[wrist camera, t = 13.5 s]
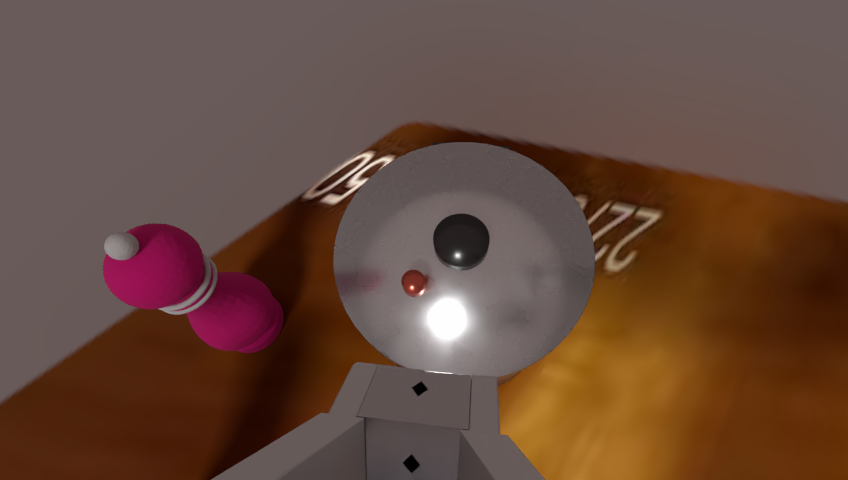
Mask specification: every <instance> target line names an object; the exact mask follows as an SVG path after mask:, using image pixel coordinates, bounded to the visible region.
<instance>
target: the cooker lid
mask: <svg viewBox="0 0 848 480" xmlns="http://www.w3.org/2000/svg"><path fill="white" fill-rule="evenodd" d="M334 273H335V281H336V285H337V288H338V292H339V296H340V298H341V301H342V303H343V305H344V308H345V310H346V312H347V314H348V315H349V317H350V318H351V320H352V322H353V323H354V325H355V326H356V328H357V329H358V330H359V331H360V332H361V334H362V335H363V336H364V337H365V338H366V340H367V341H368V342H369V343H370V344H371V345H372V346H373V347H374V348H375V349H377V350H378V351H379V352H380V353H381V354H382V355H383V356H385V357H386V358H388V359H389V360H391V361H392V362H394V363H395V364H396V365H398V366H400V367H403V368H411V369H419V370H425V371H432V372H443V373H453V374H464V375H471V378H472V375H485V376H496V378H497V379H500V378H504V377H507V376H510V375H512V374H515V373H518V372H520V371H522V370H524V369H526V368H528V367H530V366H531V365H533V364H535V363H537V362H538V361H539V360H541V359H542V358H543V357H545V356H546V355H547V354H549V353H550V352H551V351H552V350H553V349H554V348H556V347H557V346H558V345H559V343H560V342H561V341H562V340H563V339H564V338H565V337H566V336H567V335H568V334H569V333H570V332H571V330H572V329H573V327H574V326H575V325H576V323H577V322H578V320H579V319H580V317H581V315H582V313H583V311H584V309H585V307H586V305H587V302H588V299H589V296H590V293H591V290H592V286H593V280H594V274H595V252H594V244H593V239H592V235H591V231H590V228H589V225H588V222H587V220H586V218H585V215H584V213H583V211H582V209H581V208H580V206H579V204H578V203H577V201H576V199H575V198H574V196H573V195H572V194H571V193H570V191H569V190H568V189H567V188H566V186H565V185H564V184H563V183H562V182H561V181H560V180H559V179H557V178H556V177H555V176H554V175H553V174H552V173H551V172H549V171H548V170H547V169H545V168H544V167H543V166H541V165H540V164H538V163H536V162H535V161H533V160H531V159H530V158H528V157H526V156H523V155H521V154H519V153H517V152H514V151H511V150H508V149H505V148H502V147H499V146H494V145H489V144H483V143H474V142H453V143H443V144H437V145H433V146H428V147H424V148H421V149H418V150H415V151H412V152H410V153H408V154H405V155H403V156H401V157H399V158H397V159H395V160H394V161H392V162H390V163H389V164H387V165H386V166H384V167H383V168H382V169H380V170H379V171H378V172H376V173H375V174H374V175H373V176H372V177H371V178H370V179H369V180H368V181H367V182H365V183H364V185H363V186H362V187H361V188H360V189H359V191H358V192H357V193H356V194H355V196H354V197H353V199H352V200H351V202H350V204H349V205H348V207H347V209H346V211H345V213H344V215H343V217H342V219H341V222H340V225H339V228H338V232H337V235H336V241H335V247H334Z"/></svg>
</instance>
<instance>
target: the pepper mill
mask: <svg viewBox="0 0 848 480" xmlns="http://www.w3.org/2000/svg"><path fill="white" fill-rule="evenodd" d="M104 249H105V251H106V253H107V254H106V257H105V259H104V264H103V274H104V279H105V282H106V284H107V286H108V288H109V289H110V291H111V292H112V293H113V294H114V295H115V296H116V297H117V298H119V299H120V300H121V301H123V302H125V303H126V304H128V305H131V306H134V307H137V308H142V309H159V310H162V311H164V312H166V313H169V314H184V313H186V314H187V316H188V318H189V321H190V323H191V326H192V328H193V330H194V331H195V332H196V334H197V335H198V336H199V337H200V338H201V339H202V340H203V341H204V342H205V343H207V344H209V345H210V346H212V347H214V348H216V349H220V350H228V351H231V350H237V351H239V352H243V353H254V352H258V351H260V350H263V349H265V348H266V347H268V346H269V345H270V344H272V343H273V342H274V340H275V339H276V338H277V337H278V335H279V333H280V332H281V329H282V326H283V321H284V313H283V310H282V307H281V305H280V303H279V302H278V301H277V300H276V299H275V298H274V297H273V296H272V294H271V292H270V290H269V289H268V287H267V286H266V285H265V284H264V283H263V282H261V281H260V280H258V279H256V278H255V277H253V276H250V275H248V274H243V273H238V272H223V273H218V272H217V269H216V266H215V264H214V262H213V261H212V260H211V259H210V258H209V257H207V256H205V255H204V254H203V253H202V250H201V248H200V246H199V244H198V243H197V242H196V241H195V239H194V238H193V237H192V236H190V235H189V234H188V233H187V232H185V231H183V230H181V229H179V228H177V227H174V226H171V225H167V224H146V225H142V226H137V227H135V228H133V229H130V230H129V231H127V232H126V233H125V232H119V233H116V234H112V235H111V236H109V237H108V238H107V240H106V242H105V246H104Z"/></svg>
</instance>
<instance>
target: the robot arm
mask: <svg viewBox="0 0 848 480" xmlns="http://www.w3.org/2000/svg"><path fill="white" fill-rule="evenodd" d="M211 480H545V479H544V478H543V476H542V475H541V474H540V473H539V472H538V471H537V469H536V468H535V467H534V466H533V465H532V463H531V462H530V461H529V460H528V459H527V458H526V456H525V455H524V454H523V453H522V452H521V450H520V449H519V448H518V447H517V446H516V445H515V443H514V442H513V441H512V440H511V439H510V438H509V436H507V435H500V423H499V402H498V381H497V378H496V376H485V375H472V378H471V375H464V374H453V373H443V372H432V371H425V370H419V369H411V368H403V367H395V366H387V365H378V364H370V363H360V362H357V363H355V364H354V365H353V366H352V368H351V370H350V372H349V374H348V376H347V378H346V379H345V381H344V383H343V385H342V387H341V389H340V391H339V393H338V395H337V397H336V399H335V401H334V403H333V405H332V407H331V409H330V411H329V413H328V414H327V413H320V414H318V415H317V416H315V417H314V418H312V419H310V420H309V421H307V422H305V423H304V424H302V425H300V426H299V427H297V428H295V429H294V430H292V431H290V432H289V433H287V434H285V435H284V436H282V437H281V438H279V439H277V440H276V441H274V442H272V443H271V444H269V445H267V446H266V447H264V448H262V449H261V450H259V451H257V452H256V453H254V454H252V455H251V456H249V457H248V458H246V459H244V460H243V461H241V462H239V463H238V464H236V465H234V466H233V467H231V468H229V469H228V470H226V471H224V472H223V473H221V474H220V475H218V476H216V477H215V478H213V479H211Z"/></svg>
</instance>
